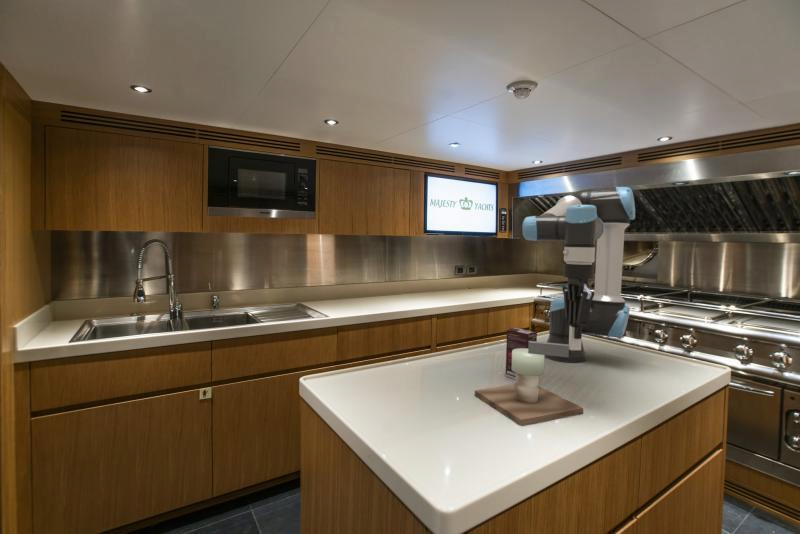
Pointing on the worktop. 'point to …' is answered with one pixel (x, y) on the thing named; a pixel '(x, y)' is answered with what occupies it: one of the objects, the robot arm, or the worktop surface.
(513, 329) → the supplement box
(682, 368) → the worktop surface
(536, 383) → the wooden board with post
